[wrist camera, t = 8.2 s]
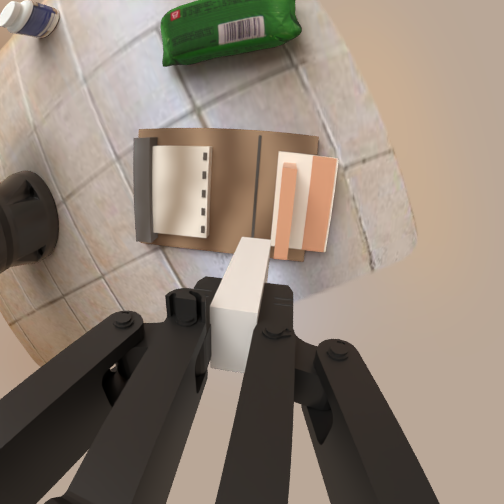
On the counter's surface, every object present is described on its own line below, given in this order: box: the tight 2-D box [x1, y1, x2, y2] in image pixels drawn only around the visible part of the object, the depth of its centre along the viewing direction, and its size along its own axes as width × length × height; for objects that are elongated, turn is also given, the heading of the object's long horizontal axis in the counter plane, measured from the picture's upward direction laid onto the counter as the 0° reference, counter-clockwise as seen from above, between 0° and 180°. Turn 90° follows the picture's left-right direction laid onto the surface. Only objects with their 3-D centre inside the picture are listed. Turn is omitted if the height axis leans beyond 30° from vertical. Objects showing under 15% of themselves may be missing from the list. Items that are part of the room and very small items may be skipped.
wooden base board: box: [133, 128, 319, 262], centre depth 31 cm, size 20×14×3 cm
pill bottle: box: [0, 0, 59, 38], centre depth 20 cm, size 5×5×10 cm
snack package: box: [161, 0, 302, 67], centre depth 23 cm, size 7×16×5 cm, turn 99°
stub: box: [271, 151, 339, 260], centre depth 27 cm, size 6×10×7 cm, turn 176°
